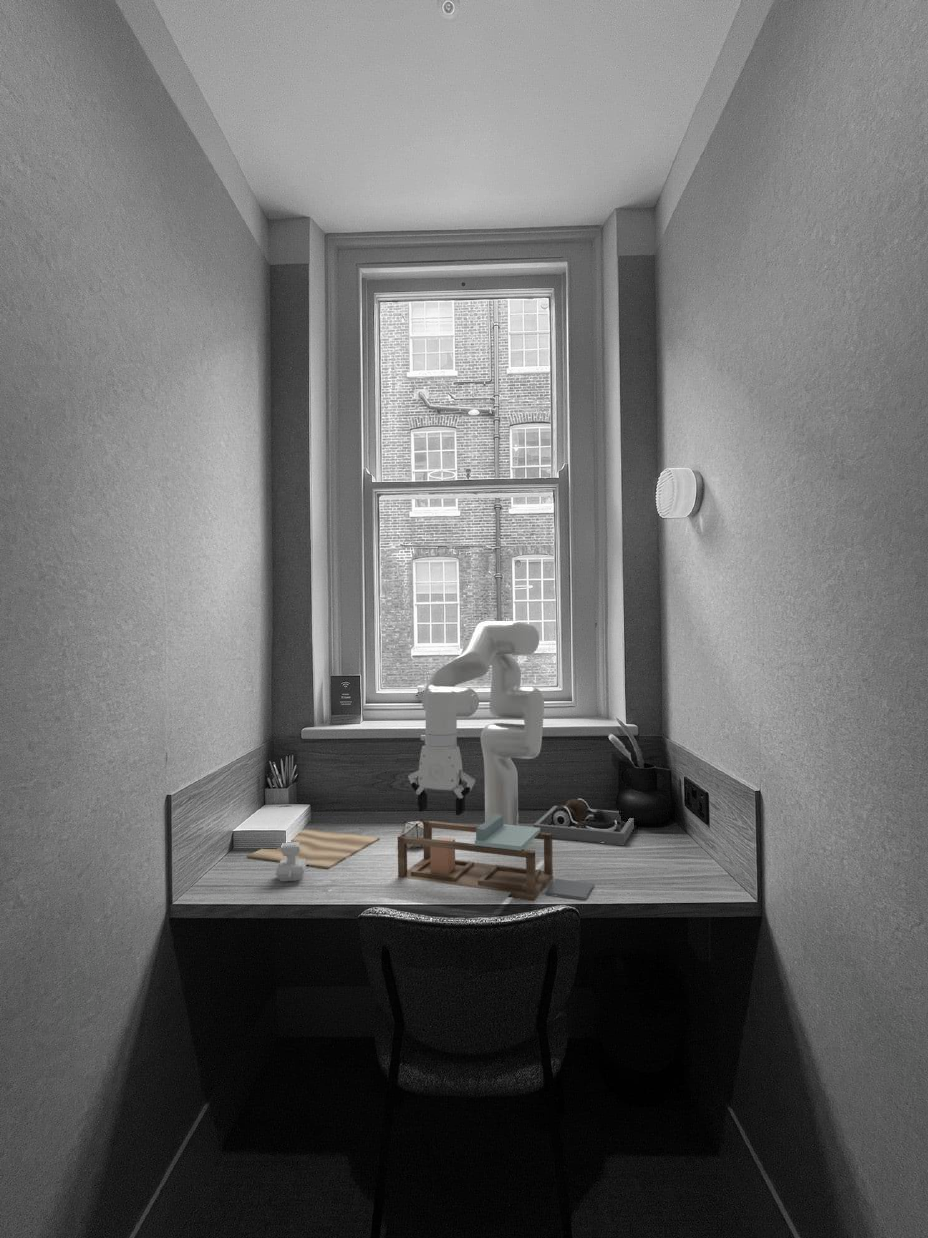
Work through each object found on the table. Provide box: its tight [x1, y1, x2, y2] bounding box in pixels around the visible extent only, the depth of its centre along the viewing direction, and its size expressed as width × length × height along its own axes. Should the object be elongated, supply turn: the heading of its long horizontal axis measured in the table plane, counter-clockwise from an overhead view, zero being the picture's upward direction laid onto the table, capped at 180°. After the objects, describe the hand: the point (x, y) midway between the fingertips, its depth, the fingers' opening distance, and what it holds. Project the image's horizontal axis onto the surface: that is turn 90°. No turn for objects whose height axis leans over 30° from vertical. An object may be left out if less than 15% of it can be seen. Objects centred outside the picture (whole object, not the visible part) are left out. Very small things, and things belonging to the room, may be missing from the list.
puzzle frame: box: [397, 820, 554, 902], centre depth 171 cm, size 16×33×10 cm, turn 68°
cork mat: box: [246, 828, 381, 869], centre depth 196 cm, size 26×25×1 cm
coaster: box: [544, 878, 595, 901], centre depth 163 cm, size 9×9×1 cm
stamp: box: [275, 842, 307, 882], centre depth 173 cm, size 9×7×8 cm
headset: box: [551, 798, 626, 831], centre depth 210 cm, size 17×8×20 cm
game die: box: [397, 817, 424, 849], centre depth 194 cm, size 9×8×10 cm
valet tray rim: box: [533, 805, 635, 846], centre depth 210 cm, size 22×25×3 cm
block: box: [430, 837, 456, 874], centre depth 174 cm, size 4×4×7 cm
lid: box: [474, 814, 540, 851], centre depth 168 cm, size 15×11×4 cm
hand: (441, 812), depth 174 cm, fingers open, 9 cm apart
